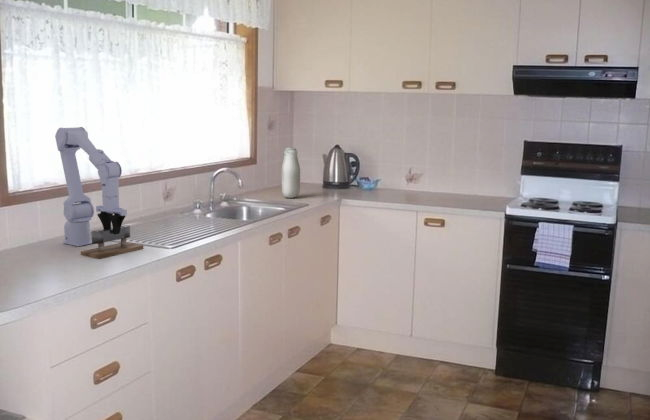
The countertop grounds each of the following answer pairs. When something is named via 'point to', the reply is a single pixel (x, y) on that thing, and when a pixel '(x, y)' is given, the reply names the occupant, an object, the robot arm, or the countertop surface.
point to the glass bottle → (290, 173)
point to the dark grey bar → (110, 234)
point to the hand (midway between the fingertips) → (112, 233)
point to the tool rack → (111, 249)
